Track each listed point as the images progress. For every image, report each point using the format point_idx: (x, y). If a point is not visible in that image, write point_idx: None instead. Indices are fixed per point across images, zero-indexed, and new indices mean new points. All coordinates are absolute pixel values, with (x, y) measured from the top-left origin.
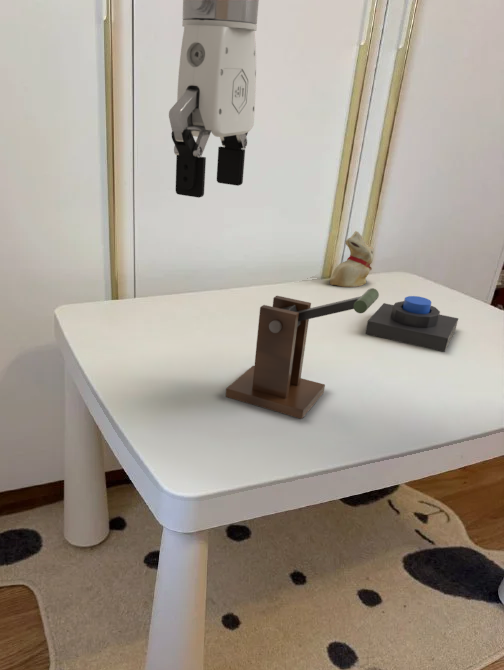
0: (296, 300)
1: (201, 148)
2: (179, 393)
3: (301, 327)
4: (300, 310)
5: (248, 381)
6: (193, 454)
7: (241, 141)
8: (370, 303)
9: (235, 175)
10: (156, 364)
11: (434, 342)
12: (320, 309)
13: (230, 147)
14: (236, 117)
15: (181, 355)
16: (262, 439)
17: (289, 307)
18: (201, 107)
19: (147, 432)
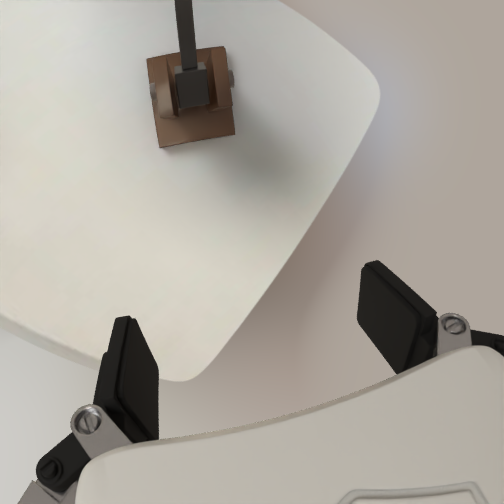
0: (159, 80)
1: (451, 334)
2: (259, 176)
3: (169, 69)
4: (182, 61)
5: (202, 125)
6: (341, 101)
7: (118, 428)
8: None
9: (137, 343)
10: (220, 239)
11: None
12: (193, 22)
13: (136, 429)
14: (373, 465)
15: (181, 236)
16: (283, 62)
17: (188, 76)
18: None
19: (336, 152)
